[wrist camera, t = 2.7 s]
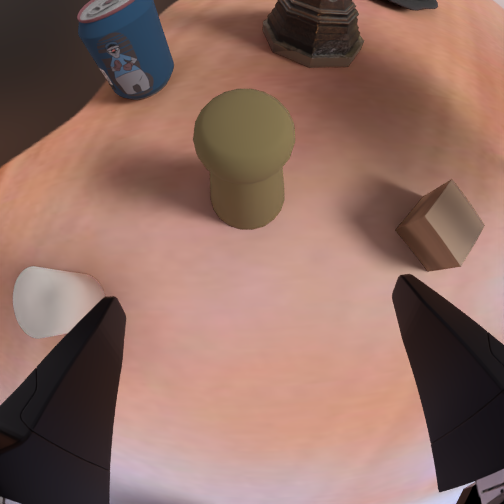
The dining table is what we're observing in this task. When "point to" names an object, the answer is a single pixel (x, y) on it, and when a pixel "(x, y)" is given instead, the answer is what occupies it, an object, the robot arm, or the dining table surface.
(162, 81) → the soda can
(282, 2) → the bird statue
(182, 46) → the dining table surface
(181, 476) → the dining table surface
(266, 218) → the cork
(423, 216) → the walnut block
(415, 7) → the casserole
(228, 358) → the dining table surface
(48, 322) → the off-white cylinder
